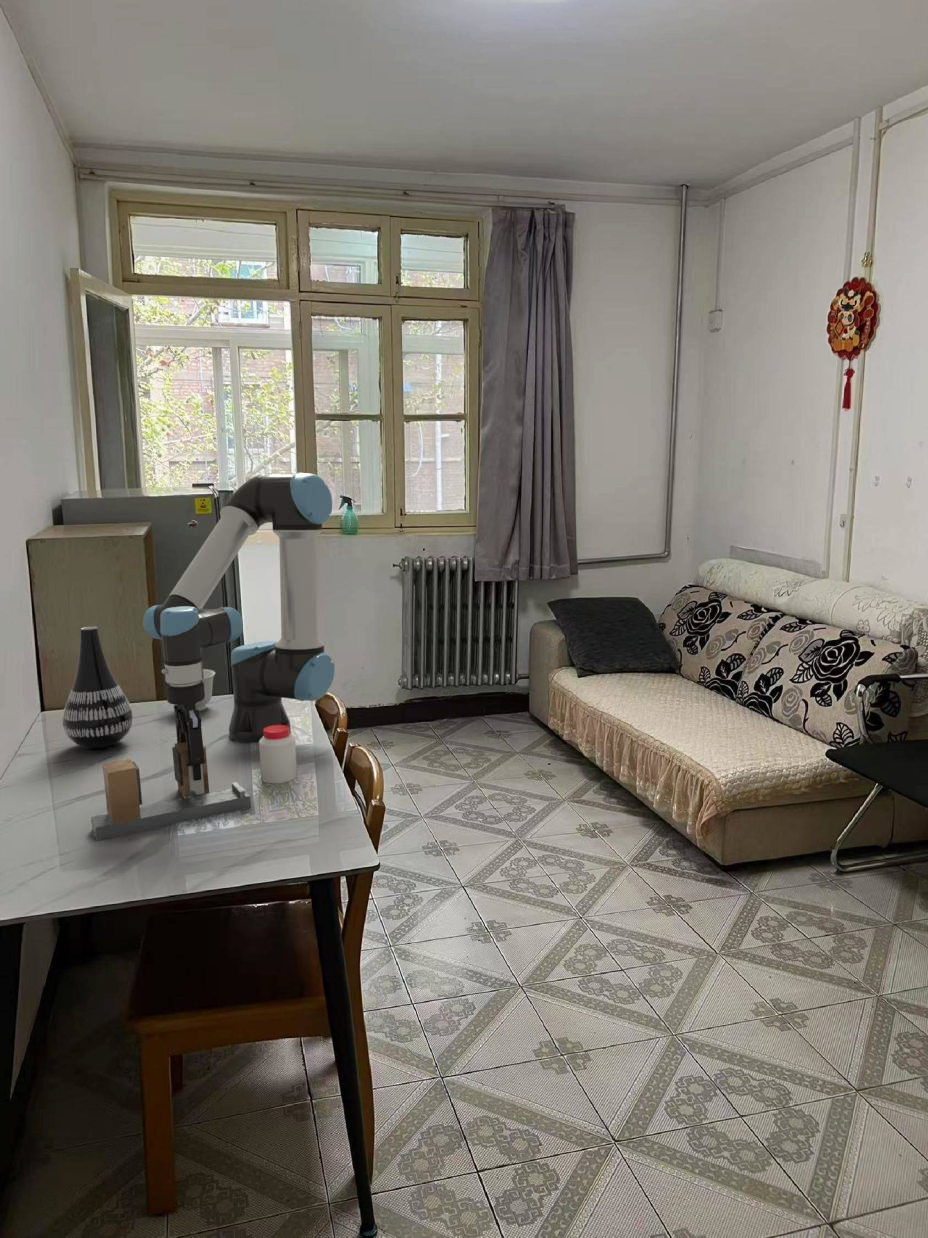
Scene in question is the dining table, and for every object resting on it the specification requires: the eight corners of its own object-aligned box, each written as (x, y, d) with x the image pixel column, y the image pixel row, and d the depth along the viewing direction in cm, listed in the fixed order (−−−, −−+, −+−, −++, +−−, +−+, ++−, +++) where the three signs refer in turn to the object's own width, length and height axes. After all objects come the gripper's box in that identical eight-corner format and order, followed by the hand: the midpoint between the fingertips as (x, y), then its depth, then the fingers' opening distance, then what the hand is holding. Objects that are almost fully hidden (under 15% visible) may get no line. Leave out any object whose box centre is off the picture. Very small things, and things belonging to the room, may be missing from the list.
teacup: (160, 717, 249) (156, 681, 247) (185, 702, 264) (182, 668, 262) (202, 718, 247) (199, 682, 245) (225, 703, 262) (222, 669, 260)
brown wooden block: (202, 784, 198) (198, 739, 196) (209, 792, 193) (205, 747, 191) (175, 789, 195) (171, 744, 193) (182, 798, 190) (178, 751, 188)
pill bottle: (304, 773, 203) (301, 725, 201) (283, 785, 196) (280, 735, 194) (275, 769, 206) (272, 721, 204) (254, 780, 199) (250, 731, 197)
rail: (242, 798, 189) (238, 739, 187) (251, 807, 184) (246, 747, 182) (92, 829, 175) (85, 766, 173) (96, 840, 170) (90, 776, 168)
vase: (135, 733, 236) (125, 619, 231) (134, 751, 221) (123, 630, 216) (68, 740, 231) (56, 625, 226) (62, 760, 216) (49, 636, 211)
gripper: (156, 675, 196) (165, 779, 200) (176, 695, 180) (186, 807, 184) (192, 670, 200) (200, 772, 204) (215, 689, 183) (223, 799, 188)
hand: (193, 788), depth 194 cm, fingers closed on brown wooden block, 6 cm apart
